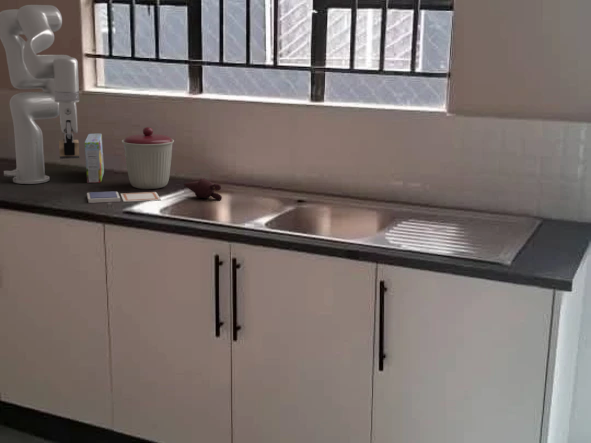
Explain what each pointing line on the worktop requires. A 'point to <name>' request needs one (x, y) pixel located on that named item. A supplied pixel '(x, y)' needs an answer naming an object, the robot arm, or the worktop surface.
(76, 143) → the stamp
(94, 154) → the snack box
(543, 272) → the worktop surface
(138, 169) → the canister
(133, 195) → the marked card
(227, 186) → the worktop surface
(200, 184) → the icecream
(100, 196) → the ink pad
